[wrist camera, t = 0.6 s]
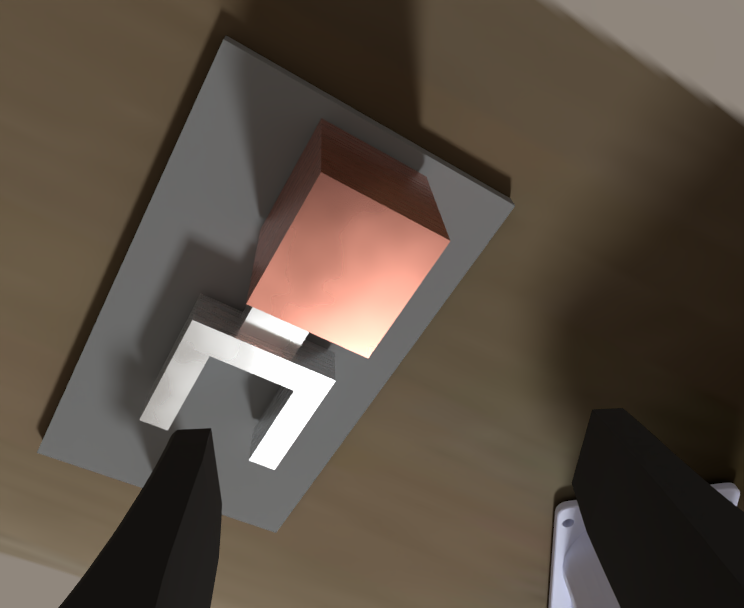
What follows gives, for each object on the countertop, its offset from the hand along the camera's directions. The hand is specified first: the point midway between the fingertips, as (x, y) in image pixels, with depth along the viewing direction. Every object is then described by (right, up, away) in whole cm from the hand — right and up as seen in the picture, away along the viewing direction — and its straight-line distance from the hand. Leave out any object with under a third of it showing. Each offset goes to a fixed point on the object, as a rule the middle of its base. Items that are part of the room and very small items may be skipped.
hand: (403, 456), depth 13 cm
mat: (-5, +2, +11) cm, 12 cm away
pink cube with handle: (-3, +3, +9) cm, 10 cm away
